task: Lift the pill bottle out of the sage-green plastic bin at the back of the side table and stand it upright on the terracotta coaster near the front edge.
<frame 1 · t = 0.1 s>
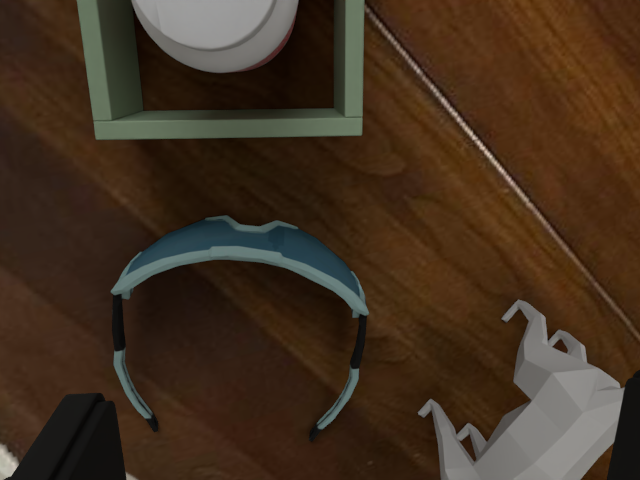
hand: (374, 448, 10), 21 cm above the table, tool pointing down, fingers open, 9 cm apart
bin: (234, 7, 27), on the table
pill bottle: (234, 7, 27), resting in bin
sunglasses: (243, 328, 33), on the table
grey dog statue: (496, 361, 34), on the table
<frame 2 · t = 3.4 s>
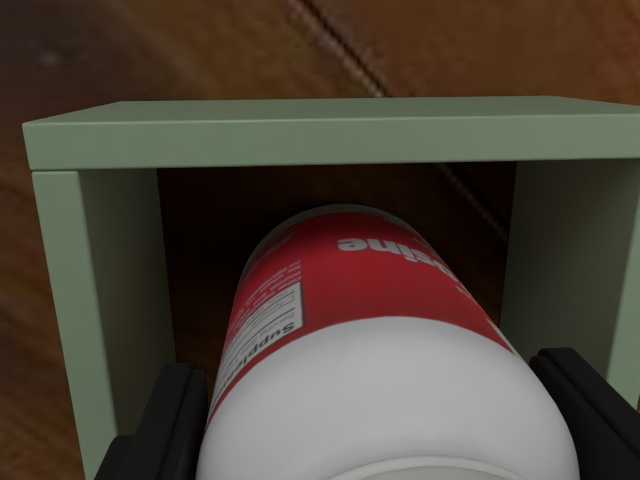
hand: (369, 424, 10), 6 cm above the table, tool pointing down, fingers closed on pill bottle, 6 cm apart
bin: (339, 297, 16), on the table
pill bottle: (338, 294, 16), resting in bin, touching gripper
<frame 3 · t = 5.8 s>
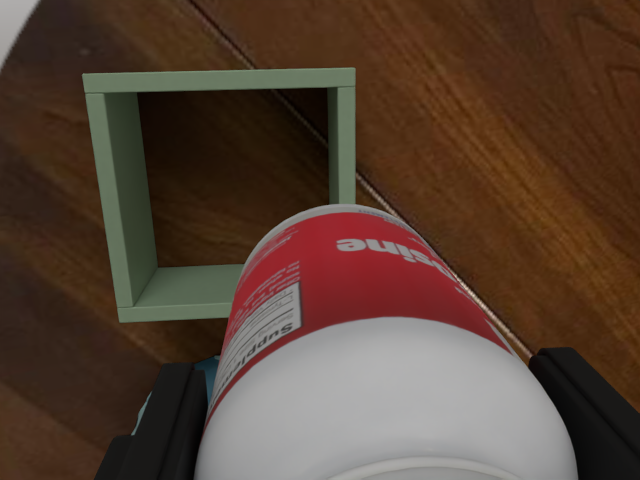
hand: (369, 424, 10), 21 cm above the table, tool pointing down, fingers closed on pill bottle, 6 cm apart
bin: (239, 179, 30), on the table
pill bottle: (338, 295, 16), point 15 cm above the table, touching gripper
sunglasses: (250, 446, 36), on the table
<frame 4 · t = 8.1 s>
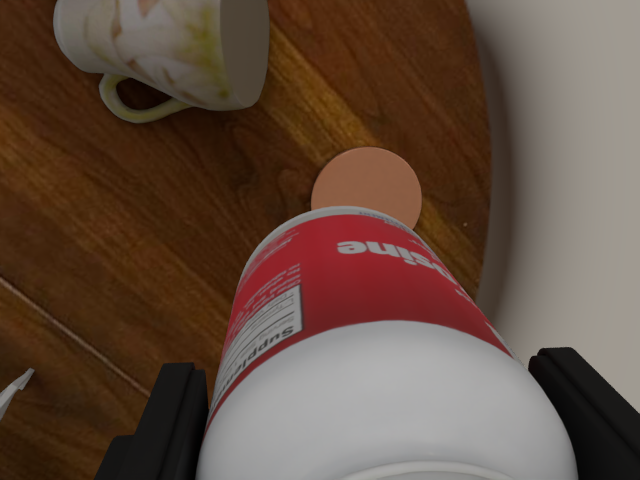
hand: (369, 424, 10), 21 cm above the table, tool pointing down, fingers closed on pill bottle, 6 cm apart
pill bottle: (338, 296, 16), point 15 cm above the table, touching gripper
mug: (175, 41, 28), on the table
coaster: (365, 201, 31), on the table
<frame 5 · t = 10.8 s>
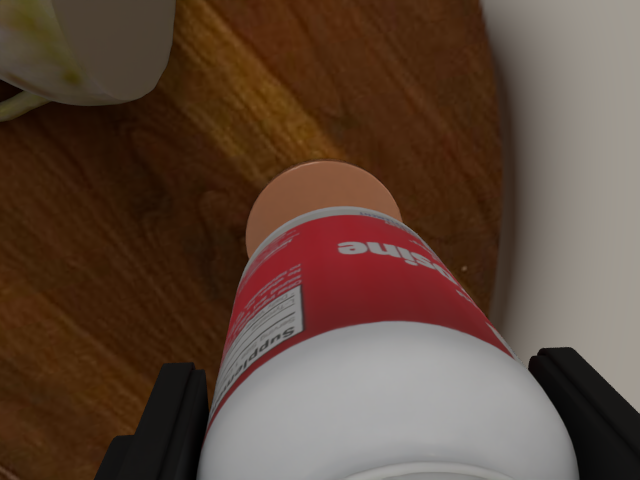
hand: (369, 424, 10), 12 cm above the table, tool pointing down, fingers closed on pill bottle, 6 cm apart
pill bottle: (339, 297, 16), point 6 cm above the table, touching gripper
mug: (39, 3, 19), on the table
coaster: (324, 235, 22), on the table
when the fingers open (7 cm above the table, at t = 12.9 s): pill bottle stays where it is, resting on coaster.
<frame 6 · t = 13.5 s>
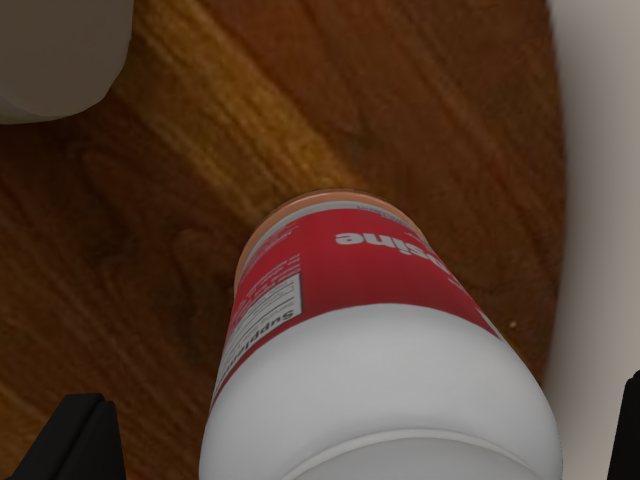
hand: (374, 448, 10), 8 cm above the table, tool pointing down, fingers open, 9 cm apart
pill bottle: (337, 289, 17), resting on coaster
coaster: (335, 285, 17), on the table
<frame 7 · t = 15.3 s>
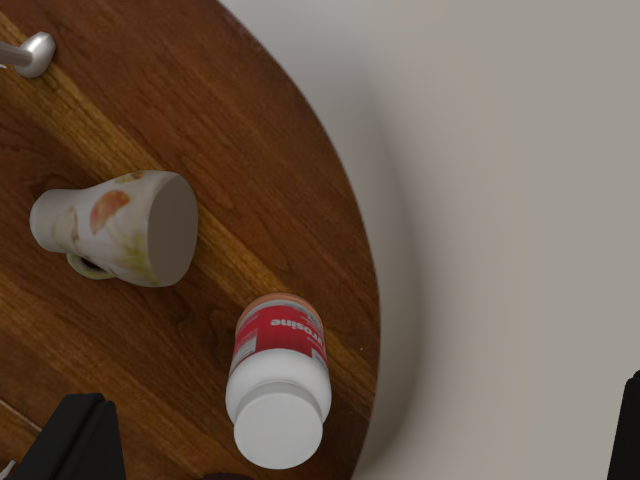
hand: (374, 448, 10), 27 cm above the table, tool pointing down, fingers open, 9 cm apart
pill bottle: (280, 334, 39), resting on coaster
mug: (126, 218, 36), on the table
figurine: (4, 50, 33), on the table
coaster: (279, 332, 39), on the table
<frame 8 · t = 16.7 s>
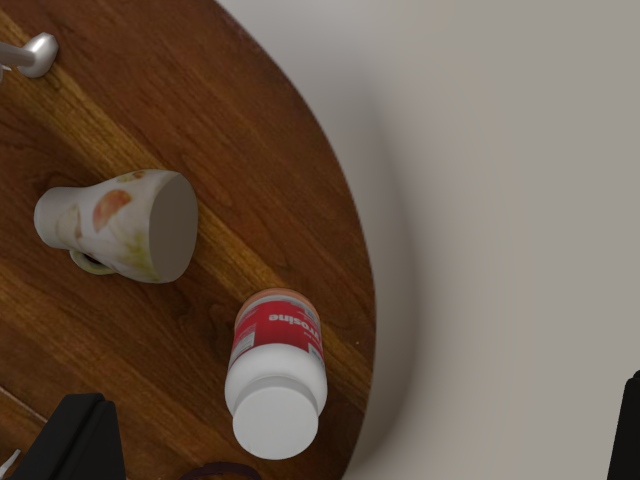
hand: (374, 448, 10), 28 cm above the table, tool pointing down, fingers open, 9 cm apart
pill bottle: (278, 328, 40), resting on coaster
watch: (217, 479, 44), on the table
mug: (128, 215, 37), on the table
figurine: (7, 50, 33), on the table
coaster: (277, 326, 40), on the table
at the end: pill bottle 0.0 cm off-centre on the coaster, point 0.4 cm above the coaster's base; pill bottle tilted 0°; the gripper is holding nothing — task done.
